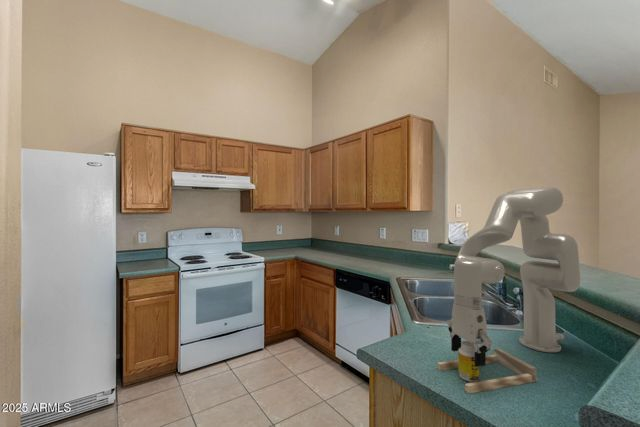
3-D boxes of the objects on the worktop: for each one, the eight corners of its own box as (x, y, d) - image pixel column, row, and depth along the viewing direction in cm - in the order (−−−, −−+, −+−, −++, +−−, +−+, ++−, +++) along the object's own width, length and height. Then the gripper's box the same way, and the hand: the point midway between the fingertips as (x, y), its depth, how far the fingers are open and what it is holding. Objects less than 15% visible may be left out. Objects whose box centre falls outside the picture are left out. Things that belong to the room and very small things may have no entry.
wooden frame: (499, 359, 98) (498, 347, 98) (537, 381, 85) (537, 367, 85) (437, 368, 92) (437, 356, 92) (468, 393, 79) (468, 379, 79)
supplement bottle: (472, 385, 83) (472, 349, 84) (454, 376, 88) (454, 342, 88) (482, 379, 87) (482, 344, 87) (464, 370, 91) (464, 338, 91)
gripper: (502, 308, 80) (502, 371, 80) (458, 293, 97) (458, 344, 96) (479, 310, 78) (479, 374, 78) (438, 294, 95) (438, 346, 95)
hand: (467, 357), depth 87 cm, fingers open, 9 cm apart
